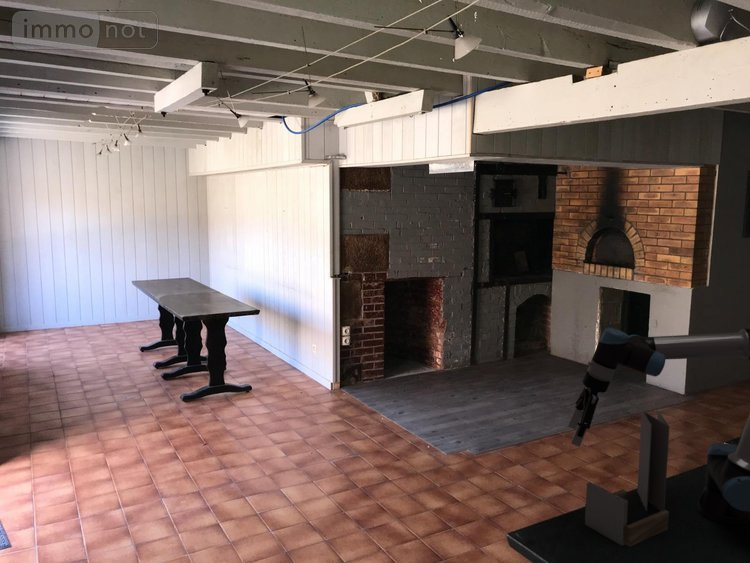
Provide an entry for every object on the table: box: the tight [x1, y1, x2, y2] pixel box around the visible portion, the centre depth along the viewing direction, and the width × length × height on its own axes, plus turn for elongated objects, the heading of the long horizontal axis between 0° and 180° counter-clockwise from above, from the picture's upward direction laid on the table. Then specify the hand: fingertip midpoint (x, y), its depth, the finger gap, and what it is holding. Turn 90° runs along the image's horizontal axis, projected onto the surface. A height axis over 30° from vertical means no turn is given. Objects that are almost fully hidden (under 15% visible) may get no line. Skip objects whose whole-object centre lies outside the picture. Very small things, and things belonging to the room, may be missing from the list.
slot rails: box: [584, 488, 670, 548], centre depth 196 cm, size 17×18×6 cm
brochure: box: [636, 409, 670, 512], centre depth 208 cm, size 14×6×30 cm, turn 168°
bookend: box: [584, 481, 629, 547], centre depth 191 cm, size 14×2×14 cm, turn 30°
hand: (573, 436), depth 198 cm, fingers open, 13 cm apart
